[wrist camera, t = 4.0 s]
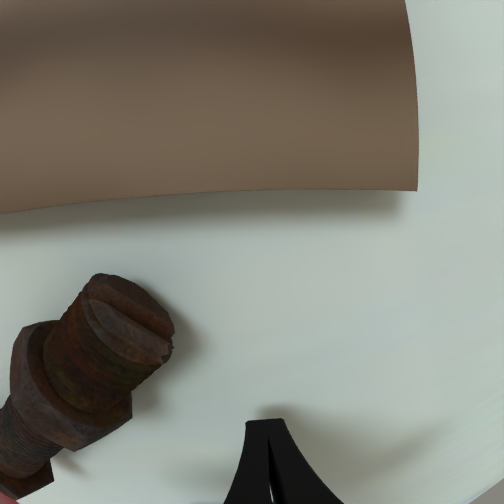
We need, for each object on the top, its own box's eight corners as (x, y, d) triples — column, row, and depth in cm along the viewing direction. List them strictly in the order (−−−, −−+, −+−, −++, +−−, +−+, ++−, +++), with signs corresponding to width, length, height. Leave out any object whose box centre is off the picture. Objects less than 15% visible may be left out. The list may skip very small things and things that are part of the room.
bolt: (176, 277, 12) (36, 424, 14) (68, 210, 8) (-31, 402, 10) (234, 408, 8) (52, 506, 10) (66, 373, 4) (-26, 492, 6)
